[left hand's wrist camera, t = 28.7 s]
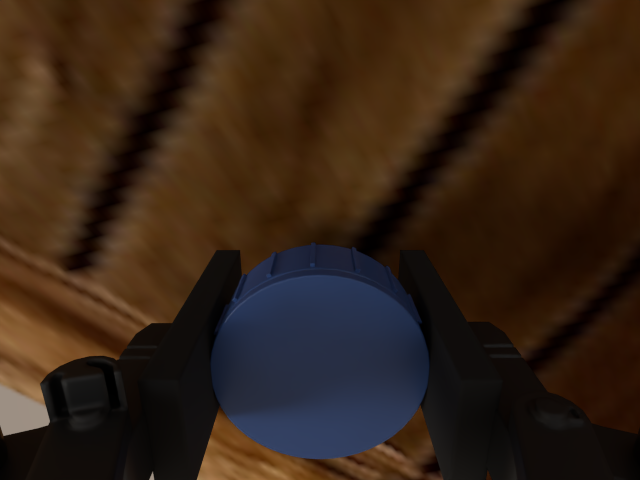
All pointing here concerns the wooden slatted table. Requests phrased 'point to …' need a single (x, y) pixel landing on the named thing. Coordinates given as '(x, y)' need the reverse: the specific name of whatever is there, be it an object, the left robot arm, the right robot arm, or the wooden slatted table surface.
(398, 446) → the wooden slatted table surface
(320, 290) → the lid
